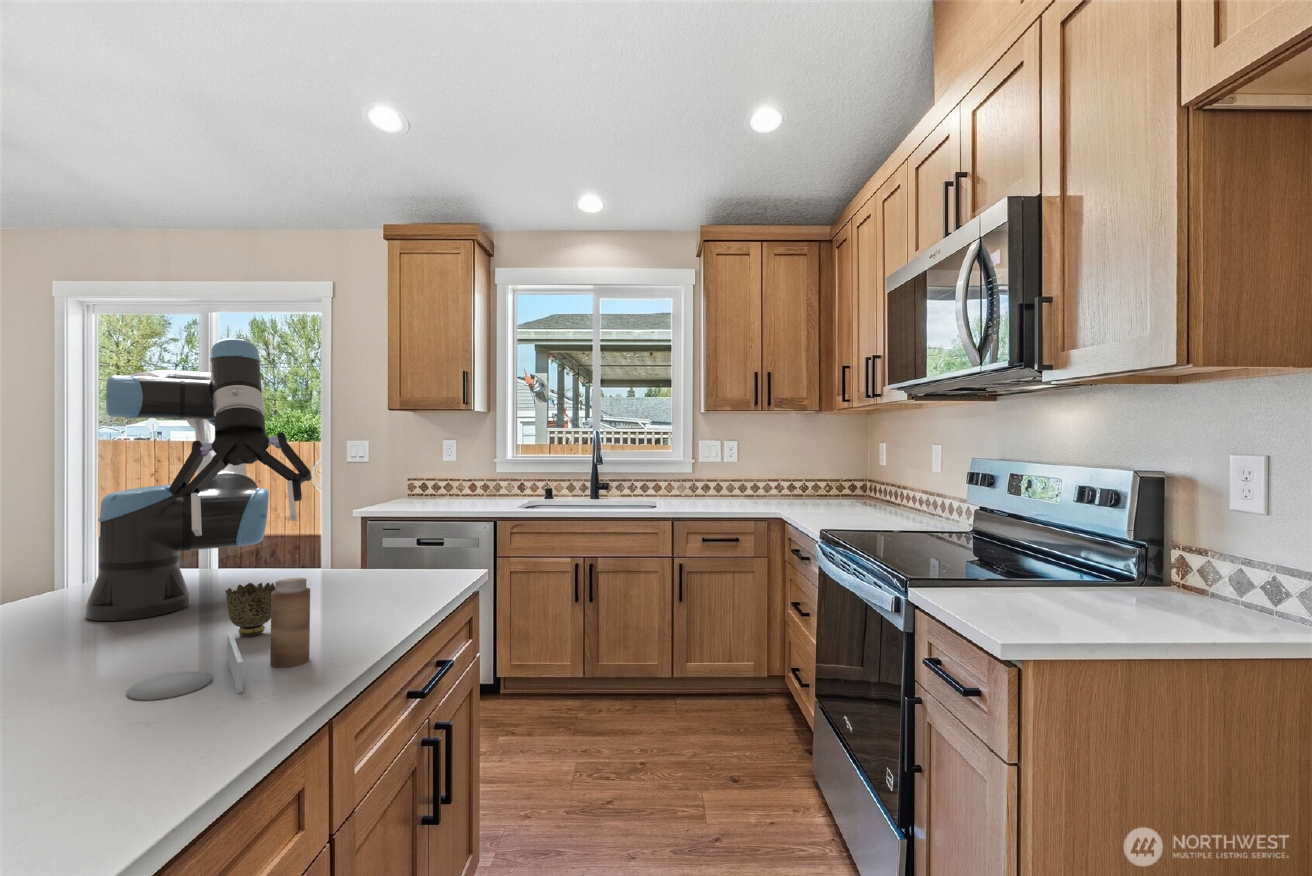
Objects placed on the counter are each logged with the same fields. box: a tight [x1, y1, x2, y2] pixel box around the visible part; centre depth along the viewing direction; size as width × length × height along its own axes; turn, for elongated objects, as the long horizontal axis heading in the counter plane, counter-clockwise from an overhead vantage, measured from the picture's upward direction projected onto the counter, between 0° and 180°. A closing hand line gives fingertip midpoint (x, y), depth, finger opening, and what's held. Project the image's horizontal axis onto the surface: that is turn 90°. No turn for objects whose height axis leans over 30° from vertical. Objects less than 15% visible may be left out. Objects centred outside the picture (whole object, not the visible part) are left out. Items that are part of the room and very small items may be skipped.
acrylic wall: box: [226, 632, 244, 694], centre depth 87 cm, size 15×1×4 cm, turn 39°
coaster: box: [126, 670, 213, 701], centre depth 83 cm, size 9×9×1 cm
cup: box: [224, 582, 275, 638], centre depth 105 cm, size 8×7×8 cm
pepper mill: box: [269, 577, 311, 669], centre depth 93 cm, size 5×5×12 cm
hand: (246, 525), depth 104 cm, fingers open, 13 cm apart
